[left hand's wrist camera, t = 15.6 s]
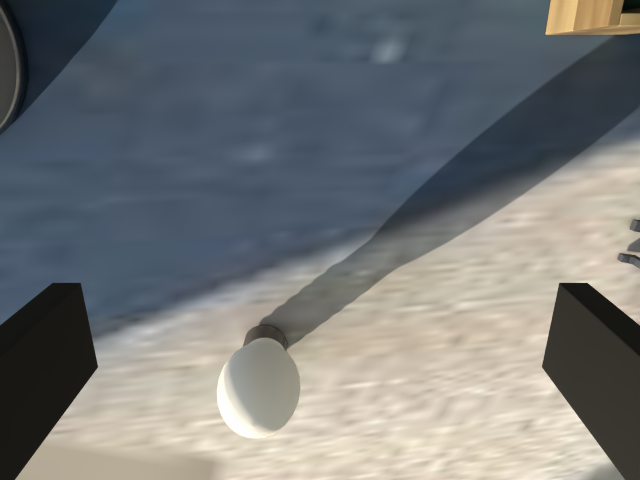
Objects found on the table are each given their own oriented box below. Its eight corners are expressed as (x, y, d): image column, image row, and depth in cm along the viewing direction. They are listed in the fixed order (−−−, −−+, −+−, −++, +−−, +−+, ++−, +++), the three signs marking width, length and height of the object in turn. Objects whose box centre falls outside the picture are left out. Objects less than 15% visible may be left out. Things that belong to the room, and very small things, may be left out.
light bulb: (219, 347, 44) (188, 432, 34) (259, 298, 42) (239, 372, 32) (276, 382, 46) (263, 474, 35) (317, 336, 44) (316, 419, 33)
